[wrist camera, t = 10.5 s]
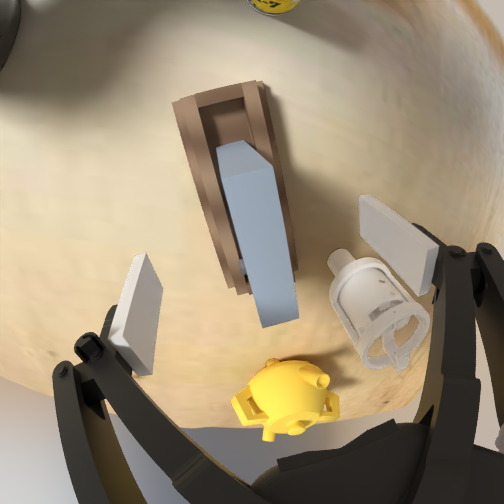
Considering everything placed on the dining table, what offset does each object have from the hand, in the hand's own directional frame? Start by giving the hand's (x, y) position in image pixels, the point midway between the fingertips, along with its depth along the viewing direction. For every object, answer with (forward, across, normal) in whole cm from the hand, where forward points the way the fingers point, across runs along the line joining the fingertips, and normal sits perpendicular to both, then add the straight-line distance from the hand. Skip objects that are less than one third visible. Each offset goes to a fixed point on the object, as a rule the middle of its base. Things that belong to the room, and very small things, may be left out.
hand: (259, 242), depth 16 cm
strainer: (+12, +10, -12) cm, 19 cm away
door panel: (+11, 0, -1) cm, 11 cm away
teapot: (+11, 0, -31) cm, 33 cm away
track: (+12, 0, -1) cm, 12 cm away
